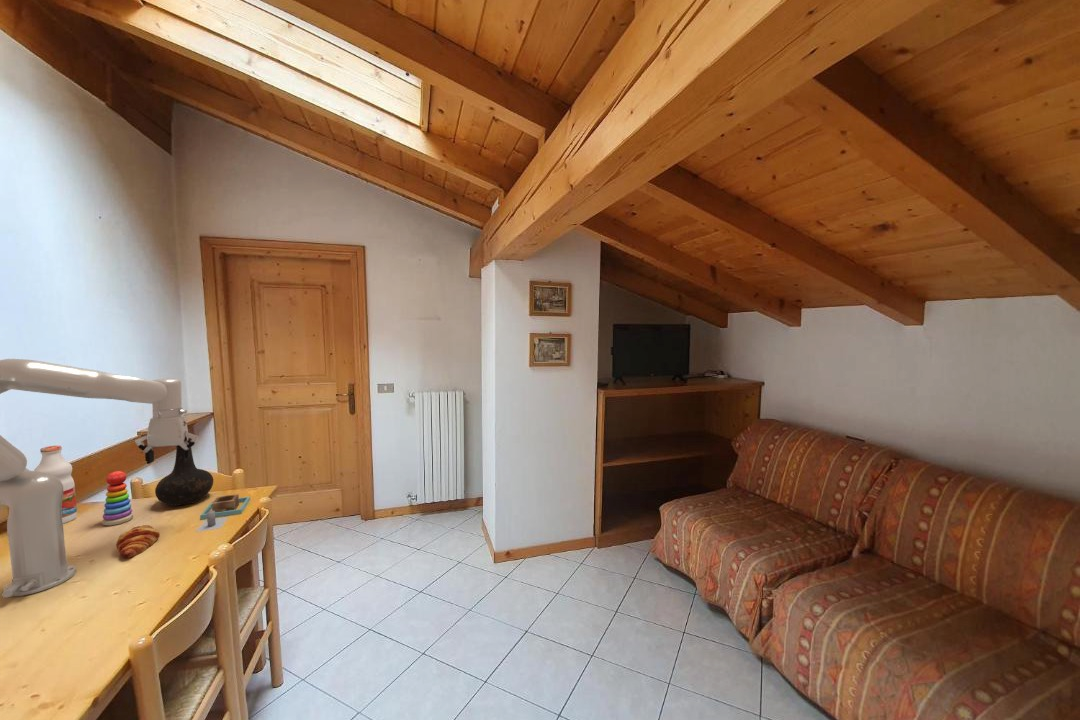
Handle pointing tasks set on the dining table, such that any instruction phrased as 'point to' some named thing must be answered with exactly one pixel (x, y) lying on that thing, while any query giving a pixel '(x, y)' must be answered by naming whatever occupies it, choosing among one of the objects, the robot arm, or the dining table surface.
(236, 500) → the collar
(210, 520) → the stake
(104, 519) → the stacking toy
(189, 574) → the dining table surface
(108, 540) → the dining table surface
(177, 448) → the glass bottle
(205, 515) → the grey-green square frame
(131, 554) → the croissant
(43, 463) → the fruit juice
